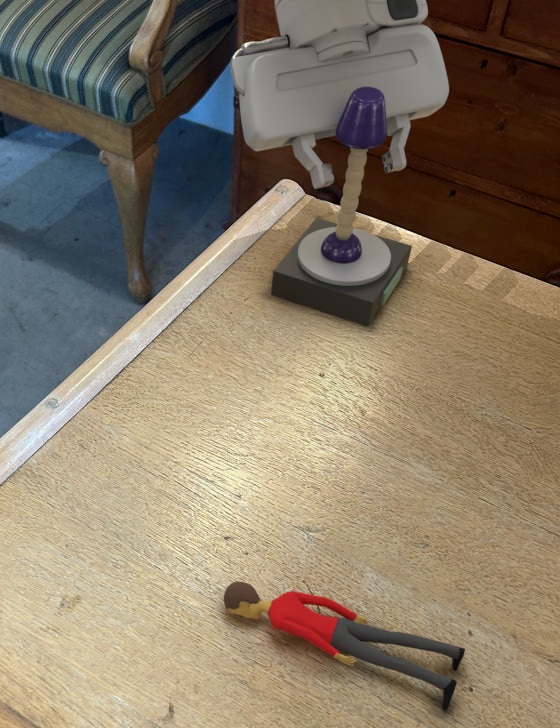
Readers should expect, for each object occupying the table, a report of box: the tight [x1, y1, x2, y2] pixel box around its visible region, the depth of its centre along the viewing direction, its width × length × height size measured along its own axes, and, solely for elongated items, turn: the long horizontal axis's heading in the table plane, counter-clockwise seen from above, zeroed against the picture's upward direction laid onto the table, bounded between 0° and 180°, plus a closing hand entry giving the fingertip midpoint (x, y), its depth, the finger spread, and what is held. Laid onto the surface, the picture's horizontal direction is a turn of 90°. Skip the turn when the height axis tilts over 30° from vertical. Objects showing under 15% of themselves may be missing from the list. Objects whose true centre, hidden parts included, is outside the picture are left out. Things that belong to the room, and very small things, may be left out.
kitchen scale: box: [270, 217, 413, 327], centre depth 94 cm, size 11×11×4 cm
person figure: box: [223, 581, 466, 712], centre depth 67 cm, size 5×4×18 cm
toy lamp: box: [321, 87, 388, 263], centre depth 86 cm, size 5×5×17 cm
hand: (360, 178), depth 85 cm, fingers open, 6 cm apart
